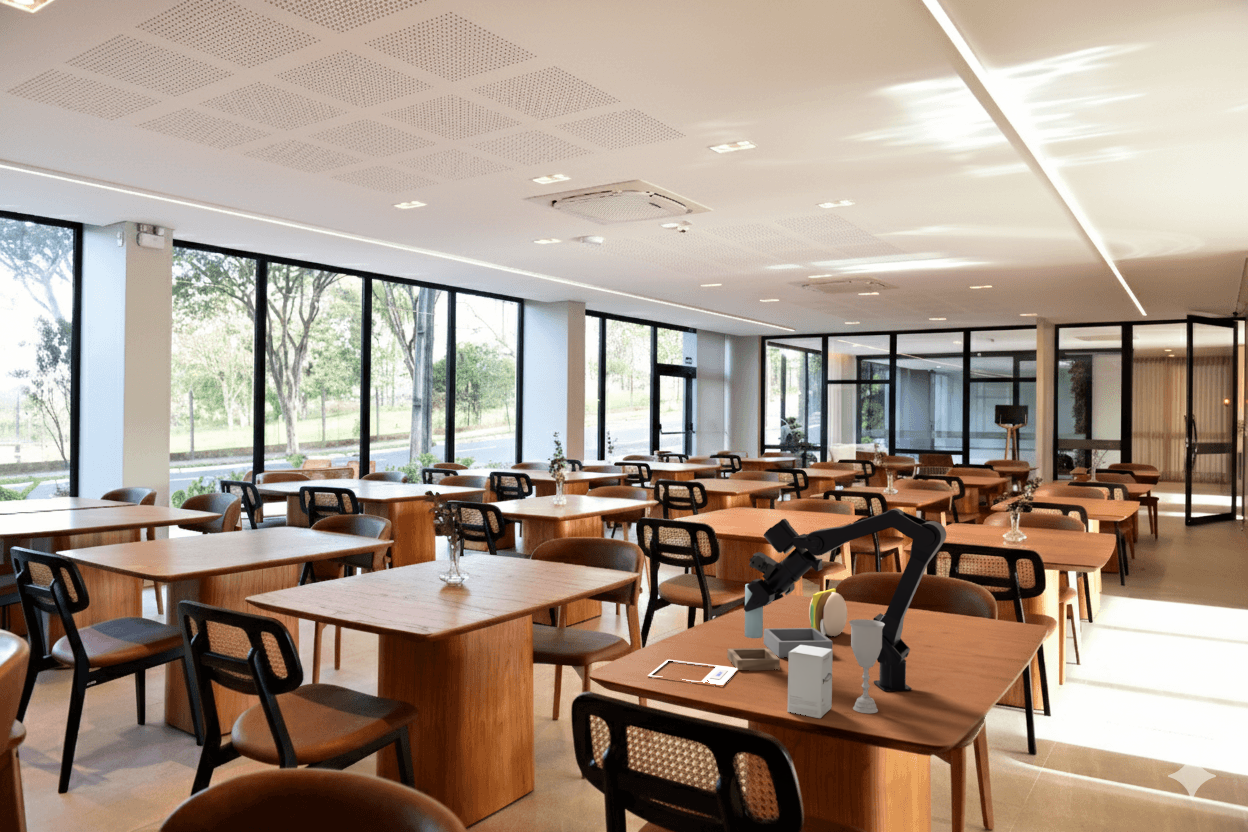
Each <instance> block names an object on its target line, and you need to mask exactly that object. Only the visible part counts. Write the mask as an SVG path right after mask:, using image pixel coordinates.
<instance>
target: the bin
mask: <svg viewBox="0 0 1248 832" xmlns="http://www.w3.org/2000/svg"><path fill="white" fill-rule="evenodd" d="M763 645H764V646H765V647H766V648H768V649H769V650H770V651H771V652H773V653H774V654H775V655H777V656H778V657H779V659H785V658H784V657H787V658H786V659H788V658H789V652H790V651H791V650H793V649H794V648H796V647H798V646H799V645H807V646H814V647H821V648H828V649H832V650H833V640H831V639H830V637H829V638H828V637H827V635H823V634H822V633H821V632H819V631H818V630H816V629H815V628H812V627H792V628H791V627H790V628H789V627H786V628H782V627H781V628H774V627H773V628H763Z"/></svg>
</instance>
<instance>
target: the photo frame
mask: <svg viewBox="0 0 1248 832" xmlns="http://www.w3.org/2000/svg"><path fill="white" fill-rule="evenodd" d="M668 661H673V662H678V663H687V664H695V665H708V666H714V667H715V668H712V670H711V671H710V672H709V673H708V674H707V675H705V676H704V678H703V679H702V680H693V679H684V678H683V679H682V678H681V679H682V680H686V681H691V682H703V683H705V682H708V681H709V682H708V683H710V684H716V685H724V684H725V683H726V682H727V681H728V680H729V679H730V678H731V677H732V676H733V675H734V673H735V672H736V671H737V670H738V669H737V668H735V667H734V666H727V665H716V664H707V663H699V662H691V661H683V660H676V659H675V660H674V659H666V660H665V661H664V662H662V663H661V664H660V665H659V666H658V667H656V668H655V669H654V670H652V671H651V672H650V673H649V674H647V676H650V677H662V676H661V675H660V676H659V675H653V674H654V673H656V672H657V671H659V670H660V669H661V668H662V667H664V666H665V665H666V664H667V663H668ZM673 662H672V663H673ZM678 663H677V664H678ZM734 676H735V675H734ZM734 676H733V677H734ZM733 677H732V678H733ZM732 678H731V679H732ZM731 679H730V680H731ZM707 680H708V681H707ZM730 680H729V681H730ZM729 681H728V682H729ZM728 682H727V683H728Z"/></svg>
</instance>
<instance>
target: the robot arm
mask: <svg viewBox="0 0 1248 832" xmlns="http://www.w3.org/2000/svg"><path fill="white" fill-rule="evenodd" d="M891 528H893V529H895V530H896V531H897V532H899V533H901V534H903V535H904V536H906V537H907V538H910V539H912V541H911V546H910V555H909V559H908V561H907V564H906V566H905V569H904V570H903V573H902V575H901V576H900V577H901V578H900V579H899V581H898V583H897V586H896V588H895V592H894V593H893V595H892V598H891V600H890V602H889V605H888V607H887V609H886V611H885V613H884V614H883V613H881V612H880V613H879V614H877V615H875V617H873V619H872V620H875V621H880V622H883V623H884V624H885V625H884V627H883V629H882V649H881V651H880V654H879V656H878V658H877V660H876V662H877V663H879V674H878V675H879V680H873V684H874V685H876V686H877V687H878V688H879V689H881V690H882V691H884V692H906V691H907V692H908V691H910V692H911V691H912V690H913V689H912V687H911V686H909V685H908V684H907V683H906V680H907V678H906V677H907V676H906V675H907V660H906V658H907V657H908V656H909V653H910V651H911V648H910V647H909V646H908V645H907V643H906V642H904V640H903V639H902V638H901V637H902V632H903V628H904V620H905V616H906V614H907V612H908V609H909V607H910V605H911V603H912V601H913V597H914V595H915V594H916V591H917V590H918V589H917V588H918V587H919V584H920V582H921V581H922V578H923V575H924V573H925V571H926V568H927V567H928V564H929V563H930V561H931V560H932V559H933V558H934V556H935V555H936V554H937V553H938V552H939V550H940V549H941V547H942V545H943V544H944V542H946V539H947V531H946V529H945V526H943V524H941V523H940V522H938V521H935V520H932V521H931V520H930V521H927V520H925V519H923V518H921V517H917V516H915V515H913V514H910V513H907V512H905V511H903V510H902V509H900V508H897V507H896V508H891V509H889V510H887V511H885V512H882V513H881V514H876V515H874V516H870V517H867V518H865V519H862V520H861V519H860V520H859V521H855V522H853V523H850V524H847V525H841V526H835V527H825V528H820V529H818V530H817V529H816V530H813V531H811V532H809V533H807V534H806V533H802V534H799V533H798V532H797V531H796V529H794V528H793V526H792V525H791V524H790V522H789V521H788V520H787V519H786V518H782V519H780V521H778V522H777V523H775V524H774V525H773V526H772V527H769V528H768V529H767V530H766V531H765V532H764V534H763V535H762V536H763V537H764V538H765V539H766V541H767V542H768V544H770V545H771V547H773V549H774V550H775V552H776V553H777V554H782V553H783V554H784V555H787V554H788V553H789V552H790V553H789V554H788V555H787V556H785V557H784V558H783V560H781V561H780V562H777V561H776V560H775V559H774V558H771V557H770V556H768V555H766V554H765V553H763V552H761V551H759V552H755V553H753V555H752V557H750V558H749V563H748V566H749V567H751V568H752V569H755V570H757V571H758V572H760V573H761V574H762V576H761V577H762V578H763V579H762V578H755V579H754V580H751V581H750V582H749V583H747V584H748V585H747V588H748V589H749V590H750V591H751V593H752V595H751V597H750V599H749V600H748V602H747V604H746V605H745V604H744V607H743V611H744V612H745V611H746V612H748V611H751V610H754V609H757V608H760V607H763V608H764V607H766V606H768V605H770V604H772V603H773V602H775V601H777V600H780V599H782V598H784V595H785V596H788V595H790V594H791V593H792V592H793V591H794V590H795V588H796V587H795V586H796V585H795V583H797V582H798V581H800V580H801V578H802V576H804V575H805V574H806V573H807V572H808V571H809V570H810V569H811V568H813V570H814V571H815V572H819V571H821V570H823V558H818V557H819V556H823V555H825V554H827V553H830V552H832V551H834V550H835V549H837V548H839V547H842V546H843V545H845V544H846V543H848V542H850V541H854V540H856V539H857V540H858V539H860V538H862V537H865V536H870V535H872V534H875V533H878V532H881V531H885V530H887V529H891ZM783 594H784V595H783Z"/></svg>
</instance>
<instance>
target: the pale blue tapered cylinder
mask: <svg viewBox="0 0 1248 832" xmlns="http://www.w3.org/2000/svg"><path fill="white" fill-rule="evenodd" d="M748 584H749V583H746V584H745V585H744V586H745V587H744V606H745V605H746V604H747V602H748V600H749V599H750V597H751V595H752V593H751V591H750V590H749V589H748V588H747V585H748ZM744 637H746V638H748V639H761V638H764V606H763V607H760V608H757V609H754V610H751V611H748V612H746V611H745V610H744Z"/></svg>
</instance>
